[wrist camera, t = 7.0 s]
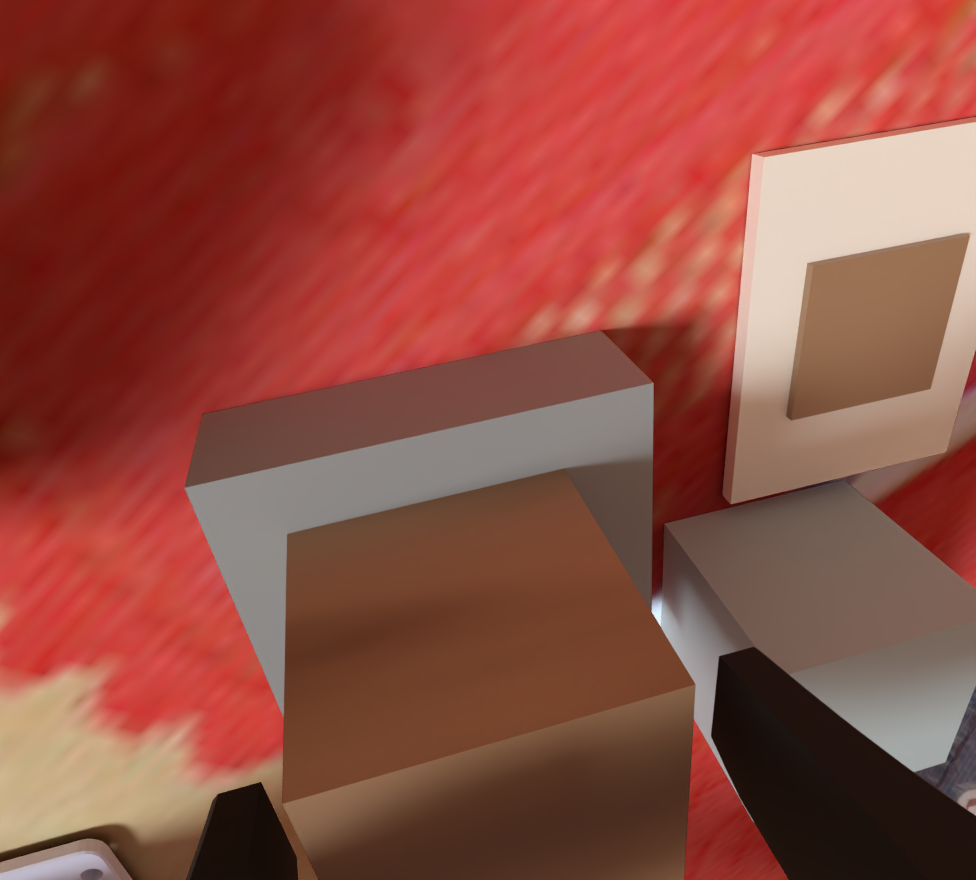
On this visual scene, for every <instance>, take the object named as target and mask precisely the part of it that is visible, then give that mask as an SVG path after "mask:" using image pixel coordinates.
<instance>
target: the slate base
mask: <svg viewBox="0 0 976 880" xmlns="http://www.w3.org/2000/svg"><path fill="white" fill-rule="evenodd" d="M653 405H654V383H653V382H652V381H651V380H650V379H649V378H648V377H647V376H646V375H645V374H644V373H643V372H642V371H641V370H640V369H639V368H638V367H637V366H636V365H635V364H634V363H633V362H632V361H631V360H630V359H629V358H628V357H627V356H626V355H625V354H624V353H623V352H622V351H621V350H620V349H619V348H618V347H617V346H616V345H615V344H614V343H613V342H612V341H611V340H610V339H609V338H608V337H607V336H606V335H605V334H604V333H603V332H602V331H601V330H600V331H596V332H591V333H586V334H581V335H577V336H572V337H567V338H562V339H557V340H553V341H548V342H543V343H538V344H534V345H529V346H524V347H519V348H515V349H510V350H505V351H500V352H496V353H491V354H486V355H481V356H477V357H472V358H467V359H462V360H458V361H453V362H448V363H443V364H438V365H434V366H429V367H424V368H419V369H415V370H410V371H405V372H400V373H396V374H391V375H386V376H381V377H377V378H372V379H367V380H362V381H358V382H353V383H348V384H343V385H339V386H334V387H329V388H324V389H319V390H315V391H310V392H305V393H300V394H296V395H291V396H286V397H281V398H277V399H272V400H267V401H262V402H258V403H253V404H248V405H243V406H239V407H234V408H229V409H224V410H219V411H215V412H210V413H205V414H202V417H201V421H200V425H199V430H198V434H197V438H196V442H195V446H194V450H193V455H192V459H191V463H190V467H189V471H188V475H187V480H186V484H185V490H186V493H187V495H188V497H189V499H190V502H191V504H192V506H193V509H194V511H195V513H196V516H197V518H198V520H199V523H200V525H201V527H202V530H203V532H204V534H205V537H206V539H207V541H208V543H209V546H210V548H211V550H212V553H213V555H214V557H215V560H216V562H217V564H218V567H219V569H220V571H221V574H222V576H223V578H224V581H225V583H226V585H227V588H228V590H229V592H230V594H231V597H232V599H233V601H234V604H235V606H236V608H237V611H238V613H239V615H240V618H241V620H242V622H243V625H244V627H245V629H246V632H247V634H248V636H249V638H250V641H251V643H252V645H253V648H254V650H255V652H256V655H257V657H258V659H259V662H260V664H261V666H262V669H263V671H264V673H265V676H266V678H267V680H268V682H269V685H270V687H271V689H272V692H273V694H274V696H275V699H276V701H277V703H278V706H279V708H280V710H281V713H282V715H283V717H284V674H285V618H286V562H287V534H289V533H293V532H297V531H302V530H306V529H310V528H314V527H319V526H323V525H327V524H331V523H335V522H340V521H344V520H348V519H352V518H357V517H361V516H365V515H369V514H373V513H378V512H382V511H386V510H390V509H395V508H399V507H403V506H407V505H411V504H416V503H420V502H424V501H428V500H433V499H437V498H441V497H445V496H450V495H454V494H458V493H462V492H466V491H471V490H475V489H479V488H483V487H488V486H492V485H496V484H500V483H504V482H509V481H513V480H517V479H521V478H526V477H530V476H534V475H538V474H543V473H547V472H551V471H555V470H559V469H564V470H565V471H566V473H567V475H568V476H569V478H570V480H571V481H572V483H573V484H574V486H575V488H576V489H577V491H578V493H579V494H580V496H581V498H582V499H583V501H584V502H585V504H586V506H587V507H588V509H589V511H590V512H591V514H592V516H593V517H594V519H595V520H596V522H597V524H598V525H599V527H600V529H601V530H602V532H603V534H604V535H605V537H606V538H607V540H608V542H609V543H610V545H611V547H612V548H613V550H614V552H615V553H616V555H617V556H618V558H619V560H620V561H621V563H622V565H623V566H624V568H625V570H626V571H627V573H628V574H629V576H630V578H631V579H632V581H633V583H634V584H635V586H636V588H637V589H638V591H639V593H640V594H641V596H642V597H643V599H644V601H645V602H646V604H647V606H648V607H649V609H650V611H651V610H652V507H653Z"/></svg>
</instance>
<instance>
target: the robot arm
mask: <svg viewBox="0 0 976 880" xmlns="http://www.w3.org/2000/svg"><path fill="white" fill-rule="evenodd" d="M711 738H712V740H713V742H714V744H715V746H716V748H717V751H718V753H719V755H720V757H721V759H722V762H723V764H724V766H725V768H726V770H727V772H728V774H729V776H730V779H731V781H732V783H733V785H734V787H735V789H736V791H737V793H738V795H739V797H740V799H741V801H742V803H743V804H744V806H745V808H746V809H747V811H748V813H749V814H750V816H751V818H752V819H753V821H754V823H755V824H756V826H757V828H758V829H759V831H760V833H761V834H762V836H763V838H764V839H765V841H766V843H767V844H768V846H769V848H770V849H771V851H772V852H773V854H774V856H775V857H776V859H777V861H778V862H779V864H780V866H781V867H782V869H783V870H784V872H785V874H786V875H787V877H788V879H789V880H976V815H974V814H973V813H971V812H970V811H968V810H967V809H965V808H964V807H963V806H961V805H960V804H958V803H957V802H955V801H954V800H953V799H951V798H950V797H948V796H947V795H945V794H944V793H942V792H941V791H940V790H938V789H937V788H935V787H934V786H932V785H931V784H930V783H928V782H927V781H925V780H924V779H923V778H921V777H920V776H919V775H917V774H916V773H914V772H913V771H912V770H910V769H909V768H908V767H906V766H905V765H903V764H902V763H901V762H899V761H898V760H897V759H895V758H894V757H893V756H892V755H890V754H889V753H888V752H886V751H885V750H884V749H882V748H881V747H880V746H878V745H877V744H876V743H874V742H873V741H872V740H870V739H869V738H868V737H866V736H865V735H864V734H862V733H861V732H860V731H859V730H857V729H856V728H855V727H853V726H852V725H851V724H850V723H848V722H847V721H846V720H844V719H843V718H842V717H841V716H839V715H838V714H837V713H836V712H834V711H833V710H832V709H831V708H829V707H828V706H827V705H826V704H824V703H823V702H822V701H821V700H819V699H818V698H817V697H816V696H815V695H813V694H812V693H811V692H810V691H808V690H807V689H806V688H805V687H803V686H802V685H801V684H800V683H799V682H797V681H796V680H795V679H794V678H793V677H791V676H790V675H789V674H788V673H786V672H785V671H784V670H783V669H782V668H780V667H779V666H778V665H777V664H776V663H774V662H773V661H772V660H771V659H770V658H768V657H767V656H766V655H765V654H764V653H762V652H761V651H760V650H758V649H757V648H755V647H751V648H747V649H743V650H740V651H736V652H732V653H729V654H725V655H721V656H719V660H718V670H717V680H716V690H715V700H714V710H713V720H712V730H711ZM0 880H132V878H131V877H130V876H129V874H128V873H127V871H126V870H125V869H124V867H123V866H122V865H121V863H120V862H119V860H118V859H117V858H116V856H115V855H114V854H113V852H112V851H111V849H110V848H109V847H108V845H106V844H105V843H104V842H103V841H101V840H97V839H83V840H78V841H75V842H71V843H67V844H64V845H60V846H57V847H53V848H49V849H46V850H42V851H39V852H35V853H31V854H28V855H24V856H20V857H17V858H13V859H10V860H6V861H2V862H0ZM186 880H298V871H297V857H296V855H295V853H294V851H293V849H292V847H291V844H290V842H289V840H288V838H287V836H286V834H285V832H284V830H283V827H282V825H281V823H280V821H279V819H278V817H277V815H276V813H275V811H274V808H273V806H272V804H271V802H270V800H269V798H268V796H267V794H266V791H265V789H264V787H263V785H262V783H261V782H260V783H256V784H252V785H249V786H245V787H242V788H238V789H234V790H231V791H227V792H223V793H220V794H218V795H217V796H216V797H215V799H214V800H213V801H212V805H211V808H210V811H209V814H208V817H207V820H206V823H205V826H204V829H203V832H202V835H201V838H200V841H199V844H198V847H197V850H196V853H195V856H194V859H193V861H192V864H191V867H190V870H189V873H188V875H187V878H186Z"/></svg>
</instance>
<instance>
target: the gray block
mask: <svg viewBox="0 0 976 880" xmlns="http://www.w3.org/2000/svg"><path fill="white" fill-rule="evenodd" d="M661 629H662V630H663V632H664V633H665V635H666V637H667V638H668V640H669V642H670V643H671V645H672V647H673V648H674V650H675V651H676V653H677V655H678V656H679V658H680V660H681V661H682V663H683V665H684V666H685V668H686V669H687V671H688V673H689V674H690V676H691V678H692V679H693V681H694V683H695V684H696V688H695V704H694V720H695V721H696V723H697V725H698V727H699V728H700V730H701V732H702V734H703V735H704V737H705V739H706V741H707V742H708V744H709V746H710V748H711V749H712V751H713V753H714V755H715V756H716V758H717V760H718V762H719V763H720V765H721V767H722V769H723V770H724V772H725V774H726V776H727V777H728V779H729V781H730V782H731V784H732V786H733V788H734V789H735V787H734V785H733V783H732V781H731V779H730V776H729V774H728V772H727V770H726V768H725V766H724V764H723V762H722V759H721V757H720V755H719V753H718V751H717V748H716V746H715V744H714V742H713V740H712V738H711V730H712V720H713V710H714V700H715V690H716V680H717V670H718V660H719V656H721V655H725V654H729V653H732V652H736V651H740V650H743V649H747V648H751V647H755V648H757V649H758V650H760V651H761V652H762V653H764V654H765V655H766V656H767V657H768V658H770V659H771V660H772V661H773V662H774V663H776V664H777V665H778V666H779V667H780V668H782V669H783V670H784V671H785V672H786V673H788V674H789V675H790V676H791V677H793V678H794V679H795V680H796V681H797V682H799V683H800V684H801V685H802V686H803V687H805V688H806V689H807V690H808V691H810V692H811V693H812V694H813V695H815V696H816V697H817V698H818V699H819V700H821V701H822V702H823V703H824V704H826V705H827V706H828V707H829V708H831V709H832V710H833V711H834V712H836V713H837V714H838V715H839V716H841V717H842V718H843V719H844V720H846V721H847V722H848V723H850V724H851V725H852V726H853V727H855V728H856V729H857V730H859V731H860V732H861V733H862V734H864V735H865V736H866V737H868V738H869V739H870V740H872V741H873V742H874V743H876V744H877V745H878V746H880V747H881V748H882V749H884V750H885V751H886V752H888V753H889V754H890V755H892V756H893V757H894V758H895V759H897V760H898V761H899V762H901V763H902V764H903V765H905V766H906V767H908V768H909V769H910V770H912V771H913V772H916V771H919V770H922V769H926V768H929V767H932V766H935V765H938V764H942V763H945V762H946V759H947V757H948V754H949V752H950V749H951V747H952V744H953V741H954V739H955V736H956V734H957V731H958V729H959V726H960V724H961V721H962V719H963V716H964V714H965V711H966V709H967V706H968V704H969V701H970V699H971V696H972V694H973V691H974V689H975V686H976V589H975V588H974V587H973V586H971V585H970V584H969V583H968V582H967V581H965V580H964V579H963V578H962V577H960V576H959V575H958V574H957V573H956V572H954V571H953V570H952V569H951V568H950V567H948V566H947V565H946V564H945V563H944V562H942V561H941V560H940V559H939V558H938V557H936V556H935V555H934V554H933V553H932V552H930V551H929V550H928V549H927V548H926V547H924V546H923V545H922V544H921V543H919V542H918V541H917V540H916V539H915V538H913V537H912V536H911V535H910V534H909V533H907V532H906V531H905V530H904V529H903V528H901V527H900V526H899V525H898V524H897V523H895V522H894V521H893V520H892V519H891V518H889V517H888V516H887V515H886V514H884V513H883V512H882V511H881V510H880V509H878V508H877V507H876V506H875V505H874V504H872V503H871V502H870V501H869V500H868V499H866V498H865V497H864V496H863V495H862V494H860V493H859V492H858V491H857V490H856V489H854V488H853V487H852V486H851V485H850V484H848V483H847V482H846V481H845V480H841V481H837V482H833V483H828V484H824V485H820V486H816V487H812V488H808V489H804V490H800V491H796V492H792V493H788V494H783V495H779V496H775V497H771V498H767V499H763V500H759V501H755V502H751V503H747V504H742V505H738V506H734V507H730V508H726V509H722V510H718V511H714V512H710V513H706V514H701V515H697V516H693V517H689V518H685V519H681V520H677V521H673V522H669V523H665V524H664V551H663V581H662V611H661ZM735 791H736V789H735ZM736 793H737V791H736ZM737 795H738V793H737ZM738 796H739V795H738ZM739 798H740V797H739ZM740 800H741V799H740ZM741 802H742V801H741ZM743 805H744V804H743ZM744 807H745V806H744ZM745 809H746V808H745ZM746 810H747V809H746ZM747 812H748V811H747ZM748 814H749V813H748ZM749 816H750V814H749ZM750 817H751V816H750ZM751 819H752V818H751ZM752 821H753V819H752ZM753 822H754V821H753Z"/></svg>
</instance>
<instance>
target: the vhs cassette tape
mask: <svg viewBox="0 0 976 880" xmlns="http://www.w3.org/2000/svg"><path fill="white" fill-rule="evenodd" d="M914 773H916V774H917V775H919V776H920V777H921V778H923V779H924V780H925V781H927V782H928V783H930V784H931V785H932V786H934V787H935V788H937V789H938V790H940V791H941V792H942V793H944V794H945V795H947V796H948V797H950V798H951V799H953V800H954V801H955V802H957V803H958V804H960V805H961V806H963V807H964V808H965V809H967V810H968V811H970V812H971V813H973V814H974V815H976V686H975V689H974V691H973V694H972V696H971V699H970V701H969V704H968V706H967V709H966V711H965V714H964V716H963V719H962V721H961V724H960V726H959V729H958V731H957V734H956V736H955V739H954V741H953V744H952V747H951V749H950V752H949V754H948V757H947V759H946V762H945V763H942V764H938V765H935V766H932V767H929V768H926V769H922V770H919V771H916V772H914Z"/></svg>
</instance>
